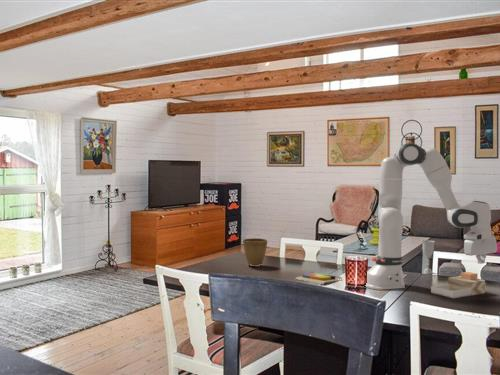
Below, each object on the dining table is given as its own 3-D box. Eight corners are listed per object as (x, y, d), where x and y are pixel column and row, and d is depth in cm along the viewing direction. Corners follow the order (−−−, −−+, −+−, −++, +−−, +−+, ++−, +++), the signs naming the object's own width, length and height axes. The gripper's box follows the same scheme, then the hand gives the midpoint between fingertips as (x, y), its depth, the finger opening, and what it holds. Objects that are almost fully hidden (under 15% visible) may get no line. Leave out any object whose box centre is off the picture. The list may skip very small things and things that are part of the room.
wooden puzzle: (342, 280, 247) (342, 274, 247) (323, 286, 233) (323, 279, 233) (315, 276, 259) (315, 269, 259) (294, 281, 245) (294, 274, 245)
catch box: (453, 298, 208) (453, 291, 208) (430, 292, 219) (431, 286, 219) (470, 295, 214) (470, 288, 214) (448, 290, 225) (448, 283, 225)
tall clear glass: (425, 274, 263) (425, 242, 263) (418, 271, 270) (419, 240, 269) (437, 273, 264) (437, 241, 264) (430, 271, 271) (430, 240, 271)
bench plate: (470, 295, 214) (470, 282, 214) (448, 290, 225) (448, 277, 225) (484, 293, 219) (484, 280, 219) (462, 287, 229) (462, 275, 229)
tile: (470, 279, 219) (470, 274, 219) (461, 278, 224) (461, 272, 224) (477, 278, 222) (477, 273, 222) (467, 277, 226) (468, 271, 226)
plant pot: (238, 265, 288) (238, 239, 288) (260, 263, 295) (260, 237, 294) (248, 269, 275) (249, 241, 275) (271, 267, 281) (271, 240, 281)
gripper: (488, 232, 234) (488, 260, 234) (461, 235, 224) (461, 264, 224) (500, 233, 228) (500, 262, 229) (473, 236, 219) (473, 266, 219)
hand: (481, 263), depth 226 cm, fingers closed
